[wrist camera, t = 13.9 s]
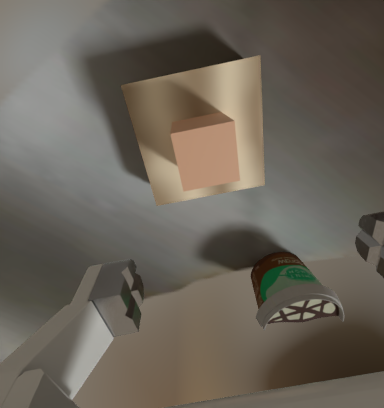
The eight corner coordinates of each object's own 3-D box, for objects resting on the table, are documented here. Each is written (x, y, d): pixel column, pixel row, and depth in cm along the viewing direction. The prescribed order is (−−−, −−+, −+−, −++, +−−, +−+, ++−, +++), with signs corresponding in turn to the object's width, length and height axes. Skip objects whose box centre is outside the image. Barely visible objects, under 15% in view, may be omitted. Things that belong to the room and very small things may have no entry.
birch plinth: (159, 188, 31) (156, 205, 27) (130, 84, 25) (120, 85, 21) (252, 170, 31) (264, 185, 27) (245, 60, 25) (260, 55, 20)
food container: (316, 242, 38) (358, 291, 29) (310, 269, 41) (347, 321, 32) (243, 250, 38) (263, 301, 29) (242, 277, 41) (260, 331, 32)
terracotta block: (182, 168, 25) (183, 191, 20) (171, 122, 23) (170, 133, 17) (226, 159, 25) (240, 180, 20) (221, 111, 22) (234, 120, 17)
